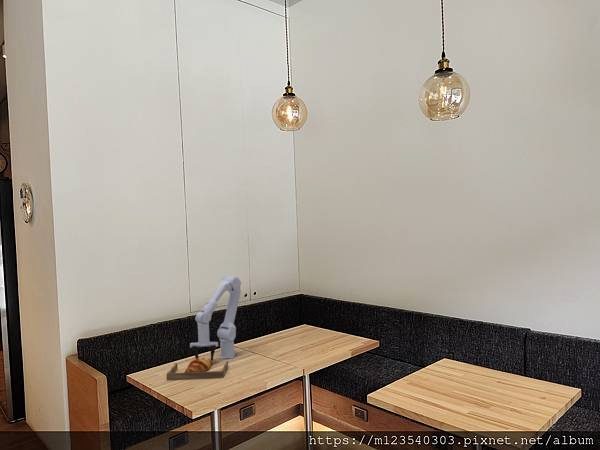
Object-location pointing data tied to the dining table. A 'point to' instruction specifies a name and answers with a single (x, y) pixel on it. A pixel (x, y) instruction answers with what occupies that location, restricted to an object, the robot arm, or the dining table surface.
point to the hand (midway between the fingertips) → (204, 360)
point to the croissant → (199, 365)
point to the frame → (195, 374)
